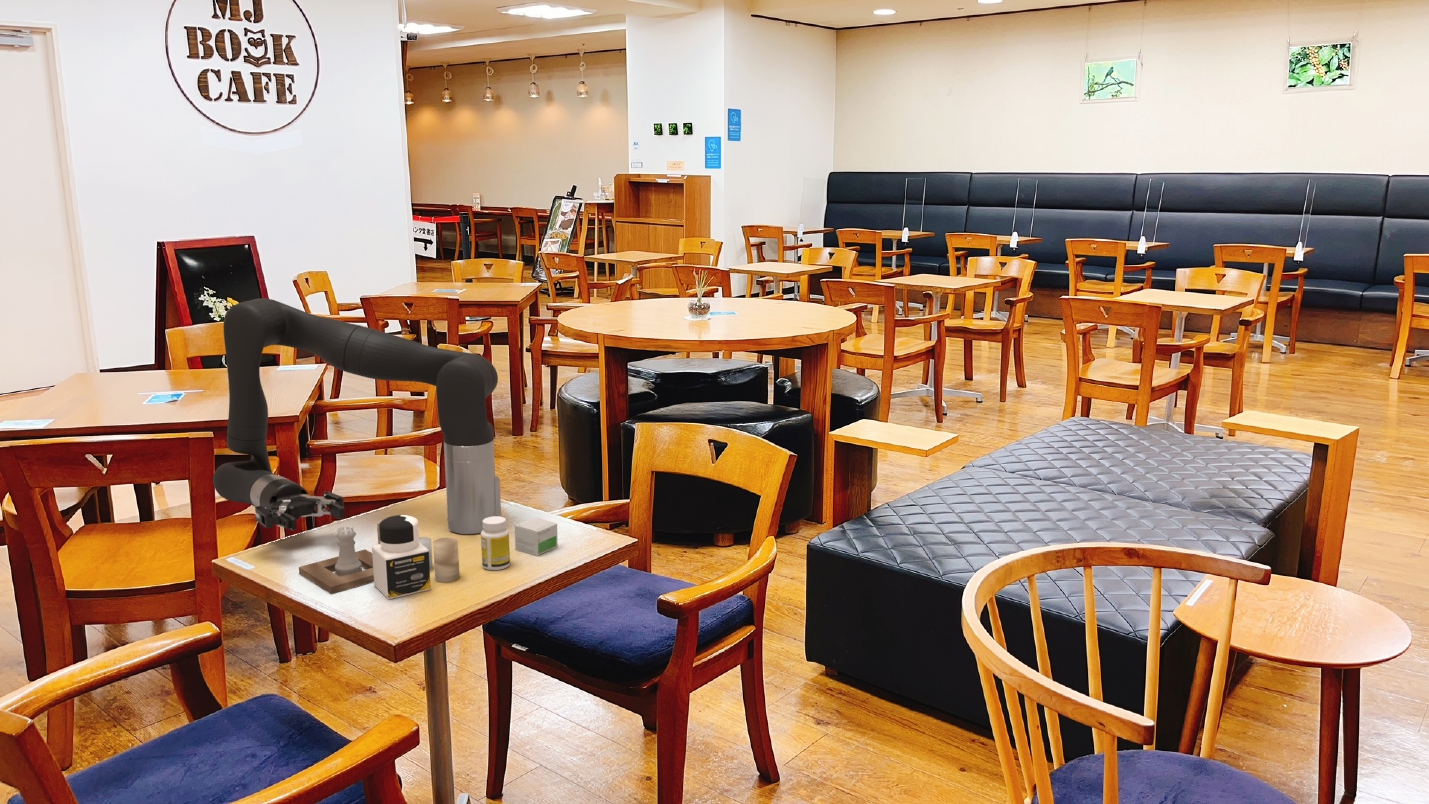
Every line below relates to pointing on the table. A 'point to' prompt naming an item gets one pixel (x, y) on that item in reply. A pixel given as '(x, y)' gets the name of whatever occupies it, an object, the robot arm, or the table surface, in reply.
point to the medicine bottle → (400, 558)
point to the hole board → (333, 583)
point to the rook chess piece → (347, 553)
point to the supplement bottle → (495, 543)
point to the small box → (536, 536)
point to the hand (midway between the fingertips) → (318, 519)
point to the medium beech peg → (446, 560)
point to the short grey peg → (427, 544)
